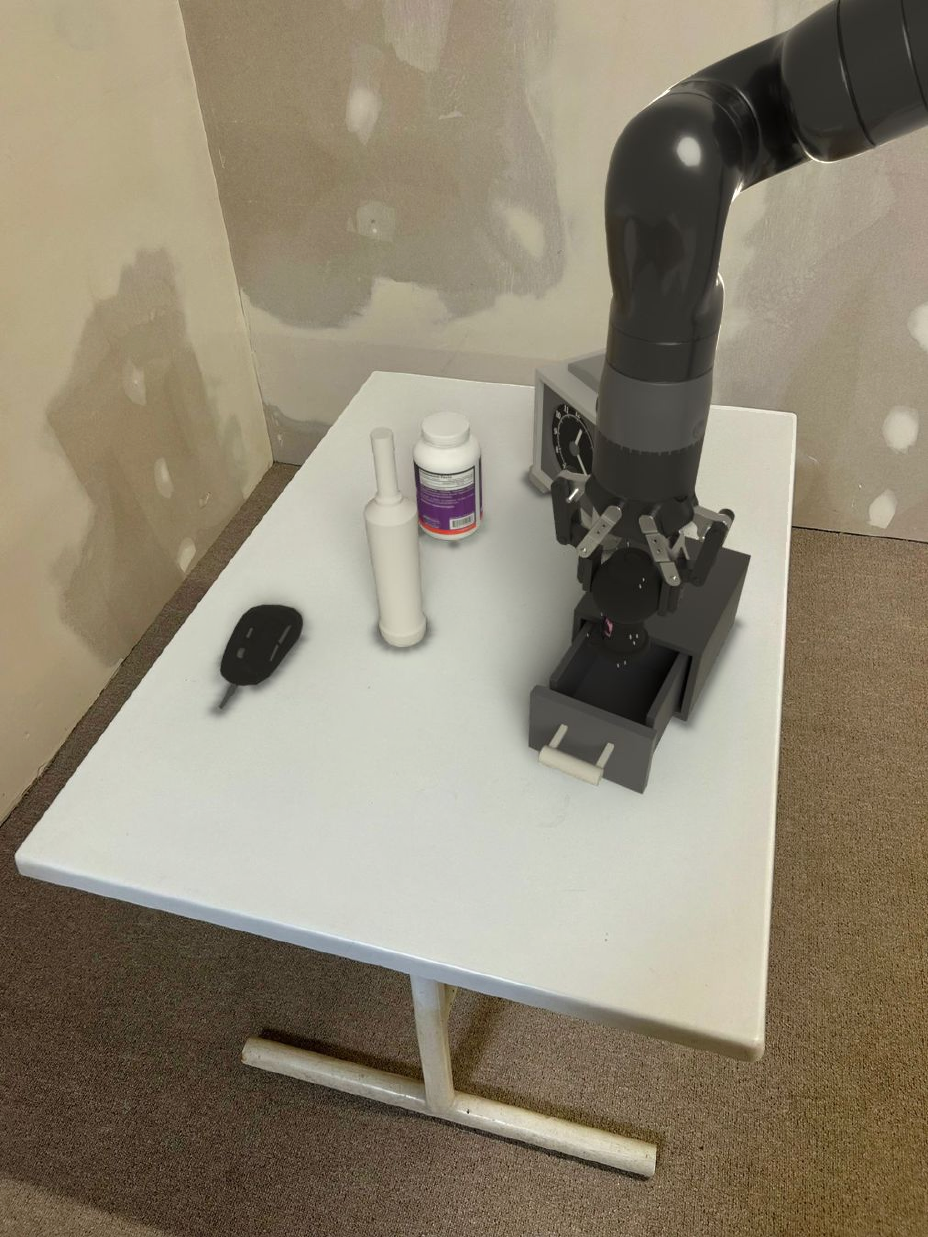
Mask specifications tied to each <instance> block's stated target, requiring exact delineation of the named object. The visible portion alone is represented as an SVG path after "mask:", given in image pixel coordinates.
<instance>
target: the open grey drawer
mask: <svg viewBox="0 0 928 1237" xmlns="http://www.w3.org/2000/svg"><path fill="white" fill-rule="evenodd" d="M597 626H598V624H597V623H594V622H591V621H588V620H587V621H586V623H585V624H584V626H583V628H582V629H581V631H580V632H579V634H578V635H577V637H576V638H575V640H574V641H573V643H572V642H571V643H572V644H571V643H570V646H569V648H568V649H567V651H566V652H565V654H564V655H563V656H562V658H561V660H559V663H558V664H557V665H556V667H555V669H554V670H553V672H552V673H551V675H550V676H549V679H548V680H549V681H548V688H547V687H545V686H542V685H539V684H535V685H534V686H533V688H532V689H531V691H530V692H529V716H528V717H529V718H528V719H529V720H528V721H529V722H528V745H527V746H528V748H530V749H532V750H534V751H537V752H539V754H538V758H537V759H538V763H539V764H542V765H544V766H547V767H549V768H552V769H554V770H556V771H559V772H561V773H563V774H566V775H567V776H571V777H573V778H575V779H577V780H580V781H582V782H585V783H587V784H590V785H592V786H594V787H598V786H599V784H600V783H601V781H602V779H604V780H607V781H609V782H611V783H613V784H615V785H618V786H621V787H624V788H626V789H628V790H630V791H632V792H635V793H638V794H641V795H643V794H644V793H645V790H646V788H647V787H648V782H649V777H650V773H651V767H652V762H653V757H654V753H655V752H656V749H657V747H658V745H659V744H660V741H661V740H662V738H663V735H664V733H665V732H666V729H667V727H668V725H669V723H670V721H671V720H672V717H673V716H672V715H673V713H674V711H675V709H676V707H677V705H678V703H679V701H680V699H681V697H682V695H683V693H684V691H685V689H686V685H687V680H688V676H689V671H690V666H691V662H692V657H693V656H690V655H687V654H684V653H681V652H678V651H675V650H672V649H669V648H667V647H664V646H661V645H658V644H655V643H652V642H650V646H649V650H648V652H647V653H646V655H645V656H643V657H642V658H641V659H639V660H636V661H633V662H628V663H627V664H626V666H625V664H624V663H619V662H618V664H619V669H618V667H617V662H613V661H610V660H608V659H605V658H603V657H602V656H601V655H600V654H598V653H594V652H591V651H590V650H589V649H588V648H587V643H588V637H587V633H588V635H590V634H593V632H594V630H595V628H596V627H597Z"/></svg>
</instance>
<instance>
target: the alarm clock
mask: <svg viewBox="0 0 928 1237" xmlns="http://www.w3.org/2000/svg"><path fill="white" fill-rule="evenodd" d="M605 355H606V347H605V348H601V349H597V350H594V351H590V352H587V353H583V354H580V355H576V356H573V357H569V358H566V359H562V360H558V361H555V362H551V363H549V364H545V365H542V366H538V367H535V368H534V393H533V394H534V397H533V399H534V400H533V431H532V432H533V434H532V435H533V437H532V464H531V465H530V466H529V473H528V474H529V476H528V481H529V482H530V483H531V484H532V485H533V486H534V487H535V488H536V489H537V490H539V492H540V493H541V494H547V493H549V492H551V484H552V482H553V481H554V480H555V478H556V477H557V476H558V475H559V473H560V472H561V471H562V470H563V469H564V468H565V467H566V466H572V467H574V468H575V469H576V470H577V473H578V474H584V475H591V474H592V463H593V451H594V439H595V428H596V416H597V413H596V410H595V408H596V400H597V397H598V393H599V385H600V379H601V375H602V371H603V367H604V362H605ZM580 507H581V518H582V525H583V526H584V527H586V528H587V529H589V530H590V529H591V527H592V526H593V525H594V523H595V522H596V521H597V520H598V518H599V515H598V513H597V512H596V510H595V508H594V507H593V505H592V503H591V502H590V500H589V498H588V496H587V495H586V492H584V493H583V495H582V496H581V497H580ZM616 538H617V543H616V541H615V536H613V535H612V532H611V531H609V532H608V534H607V535H606V536H605V537H604V539H603V540H602V541H601V542H600V545H603V551H611V550H615V548H616V547H617V545H618V544H619V542H620V541H621V539H622V538H620V537H617V536H616Z"/></svg>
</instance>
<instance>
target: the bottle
mask: <svg viewBox="0 0 928 1237" xmlns="http://www.w3.org/2000/svg"><path fill="white" fill-rule="evenodd" d="M369 435H370V445H371V452H372V456H373V466H374V473H375V481H376V489H377V491H376V492H375V493H374V497H373V498H372V499H370V500H369V501H368V503H366V504H365V506H364V509H363V511H362V514H363V519H364V525H365V526H364V527H365V532H366V537H367V545H368V549H369V557H370V562H371V569H372V575H373V580H374V588H375V593H376V599H377V605H378V612H379V618H378V627H379V631H380V634H381V636H382V639H383V640H384V641H385V642H386V643H387V644H388V645H391V646H394V647H395V648H396V647H397V648H407V647H411V646H415V645H416V644H418V643H419V642H421V641H422V639H423V638H424V637H425V635H426V629H427V615H426V614H425V612H424V603H423V601H424V600H423V587H422V584H423V583H422V568H421V552H420V536H419V534H420V533H419V521H418V511H417V504H416V502H415V501H414V500H412V499H411V498H410V497H408V496H406V495H404V494H403V493H402V491H401V490H400V489H399V483H398V473H397V464H396V453H395V451H396V450H395V448H396V447H395V440H394V438H395V437H394V432H393V430H392V429H391V428H390V427H387V426H379V427H375V428H373V429H372V430H371V431H370V433H369Z"/></svg>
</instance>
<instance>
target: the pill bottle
mask: <svg viewBox="0 0 928 1237" xmlns="http://www.w3.org/2000/svg"><path fill="white" fill-rule="evenodd" d="M481 446H482V445H481V443H480V441H479V439H478V438H477V437H476V436H475V435H474V434H472V433H471V423H470V420H469V418H468V417H467V416H465V415H464V414H462V413H459V412H455V411H438V412H434V413H432V414H430V415H428V416H426V417H425V418H424V419H423V421H422V423H421V435H420V436H419V437H418V438H417V440H416V441H415V443H414V444H413V448H412V463H413V473H414V474H413V475H414V486H415V497H416V507H417V518H418V525H419V526H420V528H421V530H422V532H424V533H425V534H426V535H428V536H430V537H431V538H435V539H437V540H443V541H456V540H457V541H458V540H462V539H465V538H467V537H470V536H471V535H472V534H474V533H475V532H476V531H477V530H478V529H479V528H480V526H481V524H482V522H483V517H484V516H483V474H482V473H483V472H482V471H483V470H482V467H483V466H482V464H483V463H482V447H481Z"/></svg>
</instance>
